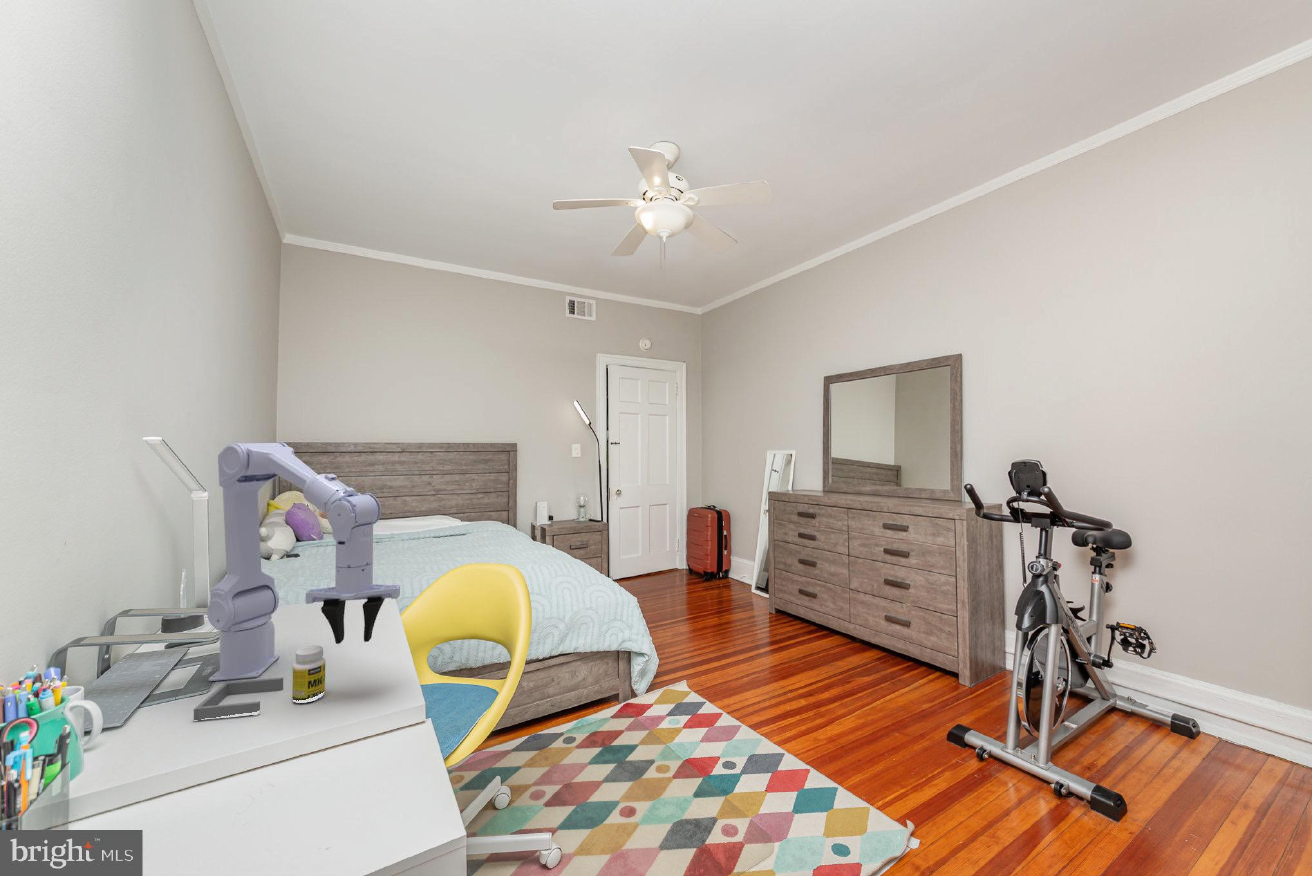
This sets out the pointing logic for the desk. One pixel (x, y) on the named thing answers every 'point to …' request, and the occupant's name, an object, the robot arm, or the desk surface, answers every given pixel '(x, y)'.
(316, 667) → the supplement bottle
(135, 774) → the desk surface
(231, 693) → the cradle
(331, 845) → the desk surface
